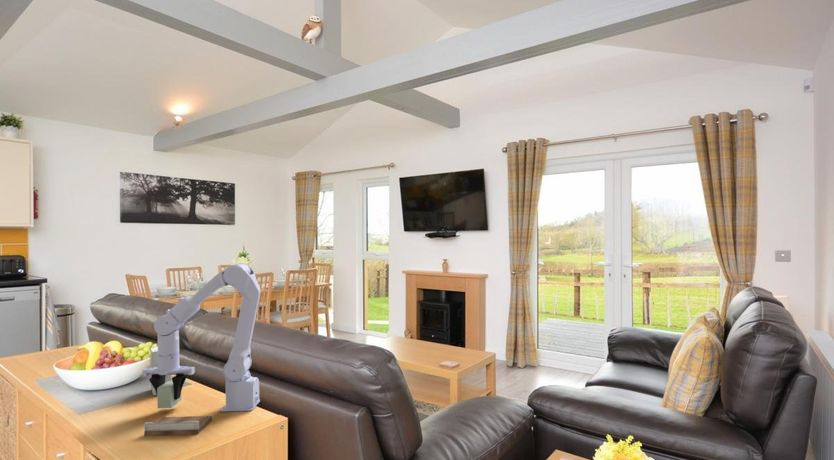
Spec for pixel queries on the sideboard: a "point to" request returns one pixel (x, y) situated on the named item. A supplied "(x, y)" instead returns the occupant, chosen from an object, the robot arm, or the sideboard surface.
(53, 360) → the sideboard surface
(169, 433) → the shelf board
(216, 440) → the sideboard surface
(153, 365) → the skincare box
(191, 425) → the rail
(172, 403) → the product carton
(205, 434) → the sideboard surface
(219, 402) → the sideboard surface
